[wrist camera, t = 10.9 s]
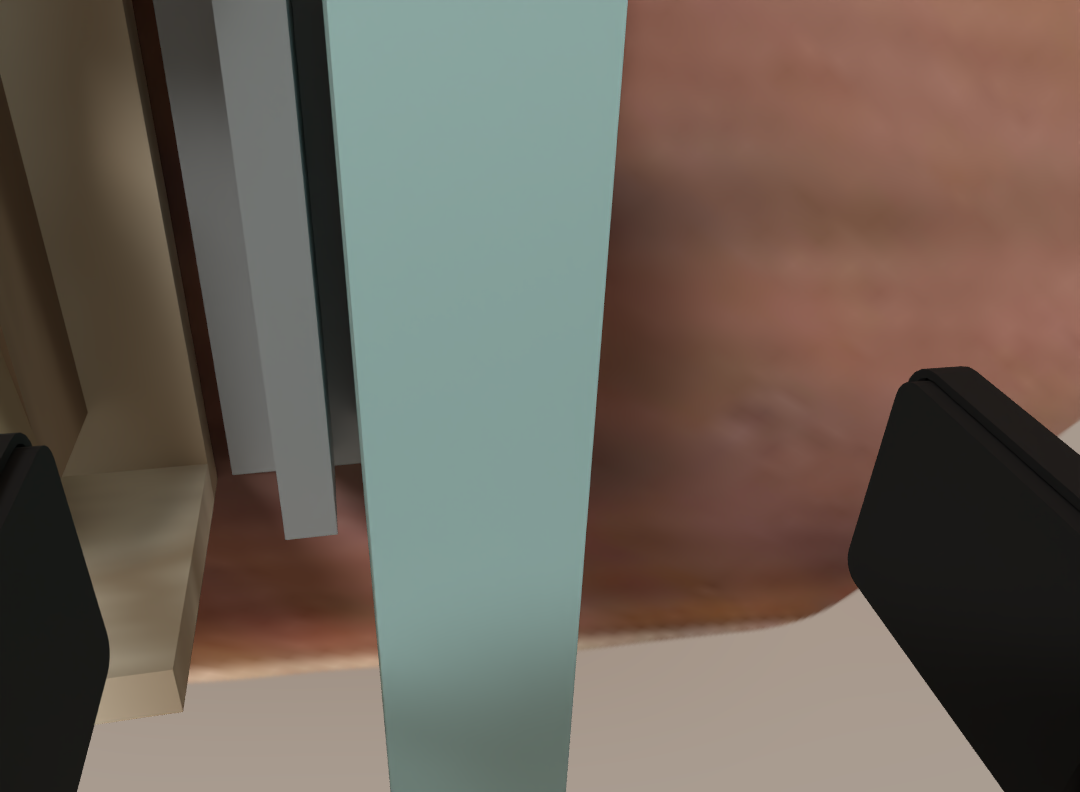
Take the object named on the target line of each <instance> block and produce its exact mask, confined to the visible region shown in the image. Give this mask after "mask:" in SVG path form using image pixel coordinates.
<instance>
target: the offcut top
mask: <svg viewBox="0 0 1080 792" xmlns="http://www.w3.org/2000/svg"><path fill="white" fill-rule="evenodd" d="M19 432H21V433H23V434H25V435H26V436H27V437H28V439H29V440H30V441H31V444H32V446H38V444H37V441H36V439H35V436H34V434H33V431H32V429H31V426H30V424H29V421H28V419H27V416H26V413H25V411H24V408H23V406H22V403H21V401H20V398H19V396H18V393H17V391H16V388H15V386H14V383H13V380H12V378H11V375H10V373H9V370H8V368H7V365H6V363H5V360H4V358H3V355H2V353H1V350H0V434H5V433H19Z"/></svg>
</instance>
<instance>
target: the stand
mask: <svg viewBox="0 0 1080 792" xmlns="http://www.w3.org/2000/svg"><path fill="white" fill-rule="evenodd" d="M153 4H154V10H155V16H156V22H157V28H158V34H159V40H160V46H161V52H162V58H163V64H164V70H165V76H166V82H167V88H168V94H169V100H170V106H171V112H172V118H173V124H174V130H175V135H176V141H177V147H178V153H179V159H180V165H181V171H182V177H183V183H184V189H185V195H186V201H187V207H188V213H189V219H190V225H191V231H192V237H193V243H194V249H195V255H196V261H197V267H198V272H199V278H200V284H201V290H202V296H203V302H204V308H205V314H206V320H207V326H208V332H209V338H210V344H211V350H212V356H213V362H214V368H215V374H216V380H217V386H218V392H219V398H220V404H221V410H222V415H223V421H224V427H225V433H226V439H227V445H228V451H229V457H230V463H231V469H232V475H238V474H249V473H260V472H270V471H276V475H277V482H278V489H279V497H280V504H281V511H282V518H283V526H284V533H285V540H290V539H299V538H308V537H317V536H327V535H336V534H338V531H337V508H336V486H335V465H346V464H357V463H361V455H360V444H359V433H358V421H357V410H356V398H355V386H354V374H353V363H352V351H351V339H350V327H349V315H348V303H347V291H346V280H345V268H344V256H343V244H342V232H341V220H340V208H339V197H338V185H337V173H336V161H335V149H334V137H333V125H332V114H331V102H330V90H329V78H328V66H327V54H326V42H325V31H324V19H323V7H322V0H153Z"/></svg>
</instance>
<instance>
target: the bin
mask: <svg viewBox="0 0 1080 792" xmlns="http://www.w3.org/2000/svg"><path fill="white" fill-rule="evenodd" d="M0 75H1V79H2V83H3V87H4V91H5V94H6V98H7V102H8V106H9V110H10V114H11V118H12V121H13V125H14V129H15V133H16V137H17V141H18V145H19V148H20V152H21V156H22V160H23V164H24V168H25V172H26V176H27V179H28V183H29V187H30V191H31V195H32V199H33V203H34V206H35V210H36V214H37V218H38V222H39V226H40V230H41V233H42V237H43V241H44V245H45V249H46V253H47V257H48V260H49V264H50V268H51V272H52V276H53V280H54V284H55V288H56V291H57V295H58V299H59V303H60V307H61V311H62V315H63V318H64V322H65V326H66V330H67V334H68V338H69V342H70V345H71V349H72V353H73V357H74V361H75V365H76V369H77V372H78V376H79V380H80V384H81V388H82V392H83V396H84V399H85V403H86V407H87V411H88V414H87V416H86V419H85V421H84V424H83V426H82V428H81V431H80V433H79V436H78V438H77V441H76V443H75V446H74V448H73V451H72V453H71V456H70V458H69V461H68V463H67V465H66V468H65V470H64V473H63V475H62V478H61V482H62V485H63V489H64V492H65V495H66V499H67V502H68V505H69V509H70V512H71V515H72V519H73V522H74V525H75V528H76V532H77V535H78V538H79V542H80V545H81V548H82V552H83V555H84V558H85V562H86V565H87V568H88V572H89V575H90V578H91V581H92V585H93V588H94V591H95V595H96V598H97V601H98V605H99V608H100V611H101V615H102V618H103V621H104V624H105V628H106V631H107V635H108V639H109V647H110V661H109V669H108V675H107V678H106V682H105V686H104V690H103V694H102V698H101V701H100V705H99V709H98V713H97V717H96V720H95V724H94V725H96V724H103V723H109V722H117V721H123V720H130V719H137V718H144V717H151V716H158V715H165V714H172V713H179V712H183V708H184V701H185V695H186V688H187V681H188V675H189V668H190V661H191V654H192V648H193V641H194V634H195V628H196V621H197V614H198V607H199V601H200V594H201V587H202V580H203V574H204V567H205V560H206V553H207V547H208V540H209V533H210V526H211V520H212V513H213V506H214V500H215V493H216V486H217V473H216V468H215V462H214V456H213V451H212V445H211V440H210V434H209V428H208V423H207V417H206V412H205V406H204V400H203V395H202V389H201V384H200V378H199V373H198V367H197V361H196V356H195V350H194V345H193V339H192V333H191V328H190V322H189V317H188V311H187V305H186V300H185V294H184V289H183V283H182V278H181V272H180V266H179V261H178V255H177V250H176V244H175V238H174V233H173V227H172V222H171V216H170V210H169V205H168V199H167V194H166V188H165V183H164V177H163V171H162V166H161V160H160V155H159V149H158V143H157V138H156V132H155V127H154V121H153V115H152V110H151V104H150V99H149V93H148V88H147V82H146V76H145V71H144V65H143V60H142V54H141V48H140V43H139V37H138V32H137V26H136V20H135V15H134V9H133V4H132V0H0Z"/></svg>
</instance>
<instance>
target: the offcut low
mask: <svg viewBox="0 0 1080 792" xmlns="http://www.w3.org/2000/svg"><path fill="white" fill-rule="evenodd" d="M0 350H1V353H2V355H3V358H4V360H5V363H6V365H7V368H8V370H9V373H10V375H11V378H12V380H13V383H14V386H15V388H16V391H17V393H18V396H19V398H20V401H21V403H22V406H23V408H24V411H25V413H26V416H27V419H28V421H29V424H30V426H31V429H32V431H33V434H34V436H35V439H36V441H37V444H38V446H42V445H45V446H47V447H49V449H50V450H51V452H52V454H53V456H54V459H55V462H56V466H57V469H58V472H59V476H60V479H61V478H62V475H63V473H64V470H65V468H66V465H67V463H68V461H69V458H70V456H71V453H72V451H73V448H74V446H75V443H76V441H77V438H78V436H79V433H80V431H81V428H82V426H83V424H84V421H85V419H86V416H87V414H88V411H87V407H86V403H85V399H84V396H83V392H82V388H81V384H80V380H79V376H78V372H77V369H76V365H75V361H74V357H73V353H72V349H71V345H70V342H69V338H68V334H67V330H66V326H65V322H64V318H63V315H62V311H61V307H60V303H59V299H58V295H57V291H56V288H55V284H54V280H53V276H52V272H51V268H50V264H49V260H48V257H47V253H46V249H45V245H44V241H43V237H42V233H41V230H40V226H39V222H38V218H37V214H36V210H35V206H34V203H33V199H32V195H31V191H30V187H29V183H28V179H27V176H26V172H25V168H24V164H23V160H22V156H21V152H20V148H19V145H18V141H17V137H16V133H15V129H14V125H13V121H12V118H11V114H10V110H9V106H8V102H7V98H6V94H5V91H4V87H3V83H2V79H1V75H0Z"/></svg>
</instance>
